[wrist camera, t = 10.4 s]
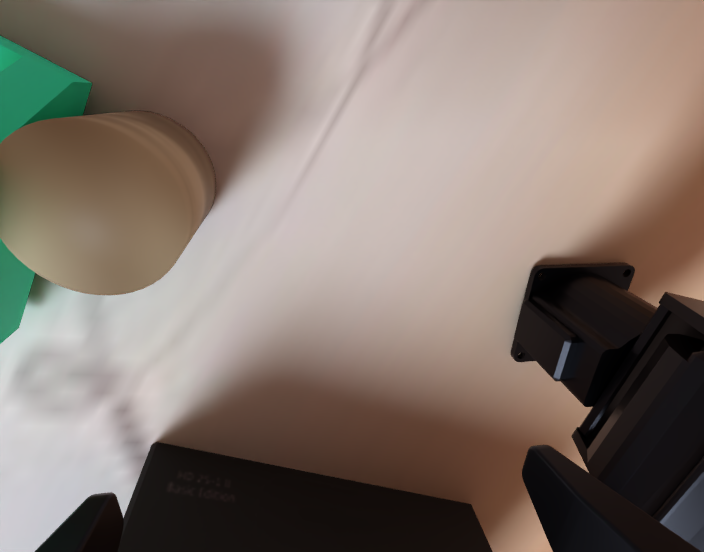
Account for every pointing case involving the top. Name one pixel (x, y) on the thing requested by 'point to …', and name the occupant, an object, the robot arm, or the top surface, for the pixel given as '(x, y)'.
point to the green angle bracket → (14, 113)
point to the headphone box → (282, 511)
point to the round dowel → (103, 198)
